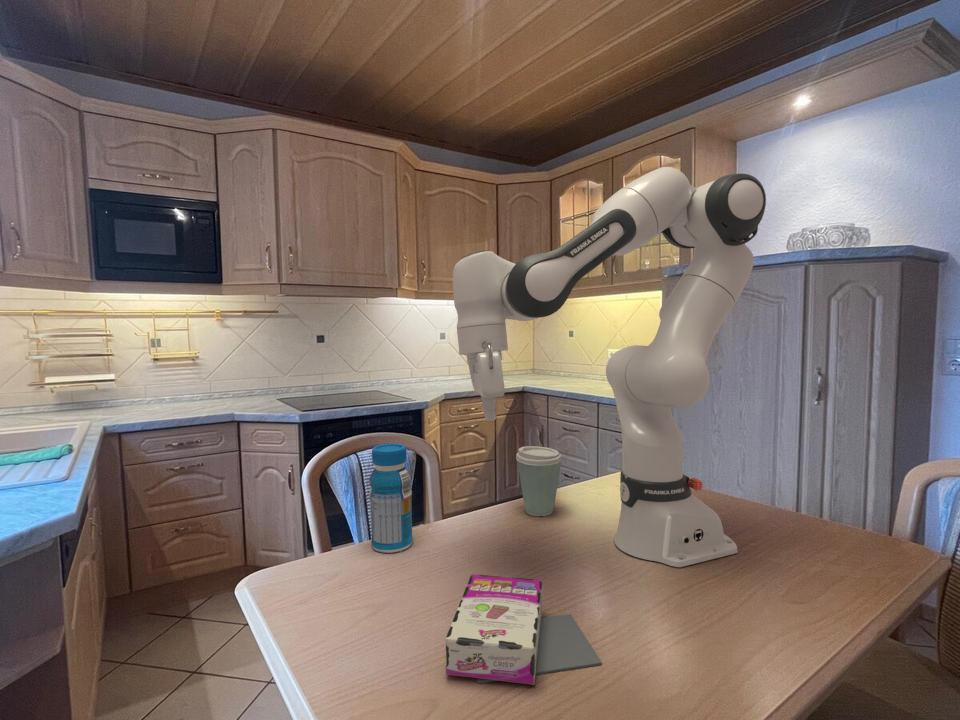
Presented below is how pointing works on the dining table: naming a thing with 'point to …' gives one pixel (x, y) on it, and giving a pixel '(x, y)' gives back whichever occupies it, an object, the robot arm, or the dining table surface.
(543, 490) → the disposable coffee cup
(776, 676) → the dining table surface
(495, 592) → the candy bar box
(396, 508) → the beverage bottle
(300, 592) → the dining table surface
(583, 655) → the mat
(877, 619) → the dining table surface
